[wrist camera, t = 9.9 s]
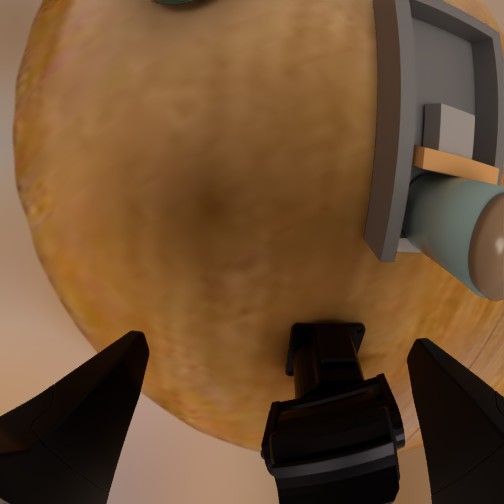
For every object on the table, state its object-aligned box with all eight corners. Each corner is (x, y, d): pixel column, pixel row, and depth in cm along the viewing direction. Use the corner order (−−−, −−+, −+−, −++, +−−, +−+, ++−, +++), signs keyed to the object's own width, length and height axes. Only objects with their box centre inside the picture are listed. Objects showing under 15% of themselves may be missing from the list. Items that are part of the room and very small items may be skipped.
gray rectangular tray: (457, 244, 19) (480, 264, 15) (363, 238, 19) (380, 261, 16) (472, 38, 11) (499, 32, 8) (373, 0, 11) (391, -20, 8)
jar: (454, 253, 17) (521, 302, 9) (395, 249, 17) (460, 307, 9) (466, 180, 15) (546, 201, 7) (406, 166, 15) (488, 179, 8)
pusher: (468, 174, 15) (496, 186, 12) (397, 159, 15) (422, 168, 12) (473, 120, 13) (502, 124, 10) (401, 97, 14) (427, 94, 11)
